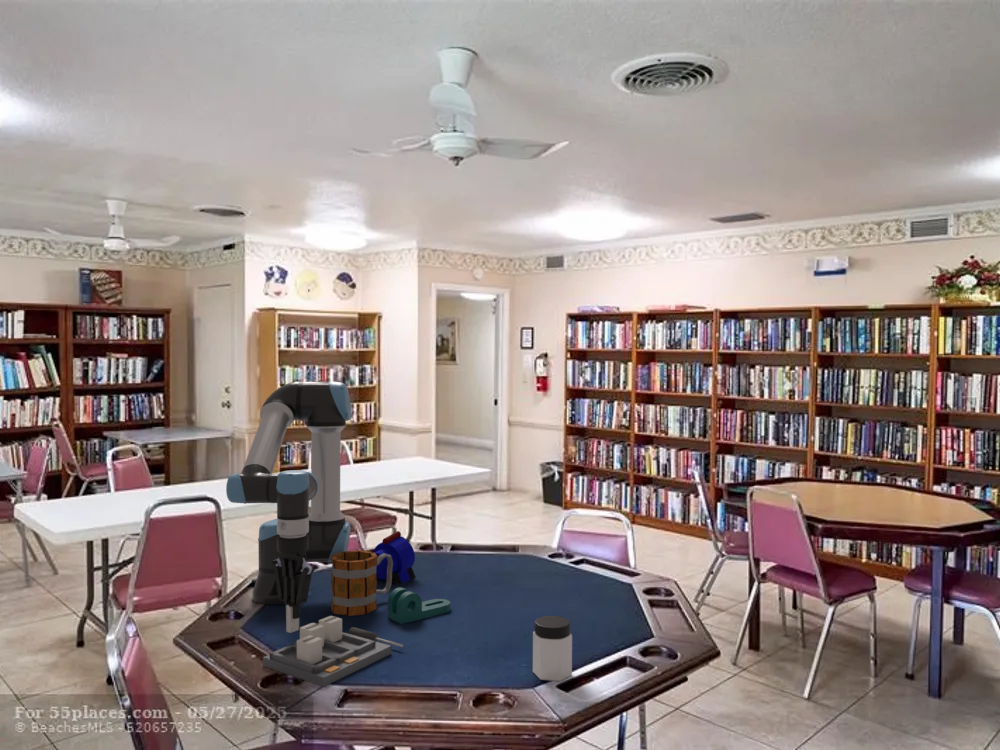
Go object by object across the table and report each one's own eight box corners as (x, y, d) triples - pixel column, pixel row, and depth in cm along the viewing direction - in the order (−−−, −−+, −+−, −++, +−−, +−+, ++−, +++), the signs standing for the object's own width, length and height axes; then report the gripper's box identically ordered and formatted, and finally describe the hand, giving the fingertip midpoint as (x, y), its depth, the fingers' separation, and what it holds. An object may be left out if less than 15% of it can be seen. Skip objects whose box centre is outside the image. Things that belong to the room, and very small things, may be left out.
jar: (549, 663, 176) (549, 612, 176) (577, 672, 171) (578, 620, 171) (525, 674, 169) (526, 622, 169) (554, 685, 164) (555, 631, 164)
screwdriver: (348, 637, 191) (348, 628, 191) (355, 635, 193) (355, 625, 193) (399, 652, 182) (399, 642, 182) (405, 649, 184) (405, 639, 184)
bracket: (400, 624, 202) (400, 595, 201) (387, 618, 207) (388, 589, 207) (454, 611, 213) (454, 583, 213) (441, 605, 218) (441, 578, 218)
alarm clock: (417, 577, 245) (417, 532, 245) (392, 586, 235) (392, 539, 235) (388, 571, 252) (388, 527, 252) (363, 580, 241) (363, 534, 241)
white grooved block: (299, 648, 178) (299, 626, 178) (312, 642, 182) (312, 622, 182) (311, 651, 176) (311, 630, 176) (324, 646, 179) (324, 625, 179)
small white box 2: (318, 640, 183) (318, 619, 183) (330, 635, 187) (330, 615, 187) (330, 643, 181) (330, 622, 181) (342, 638, 184) (342, 618, 184)
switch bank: (262, 665, 174) (262, 652, 174) (332, 636, 192) (332, 624, 192) (323, 686, 163) (323, 672, 163) (391, 653, 181) (391, 640, 181)
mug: (345, 619, 205) (345, 565, 205) (321, 607, 215) (321, 555, 215) (404, 604, 218) (404, 553, 218) (379, 593, 228) (379, 544, 228)
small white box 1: (296, 662, 170) (296, 639, 170) (310, 656, 174) (310, 634, 173) (308, 666, 168) (308, 643, 168) (322, 660, 171) (322, 637, 171)
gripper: (262, 534, 182) (262, 629, 183) (299, 541, 175) (299, 641, 176) (287, 528, 189) (286, 621, 189) (323, 535, 181) (322, 631, 182)
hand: (292, 630), depth 182 cm, fingers closed
